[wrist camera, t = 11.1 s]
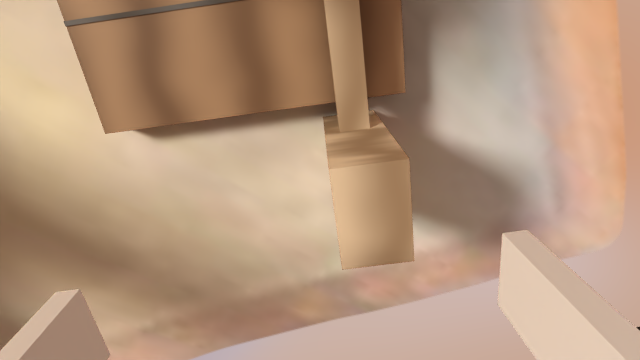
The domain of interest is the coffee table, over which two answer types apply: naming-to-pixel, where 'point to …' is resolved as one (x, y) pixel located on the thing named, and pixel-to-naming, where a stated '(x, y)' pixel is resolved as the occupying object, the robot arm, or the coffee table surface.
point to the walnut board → (220, 56)
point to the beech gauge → (363, 157)
